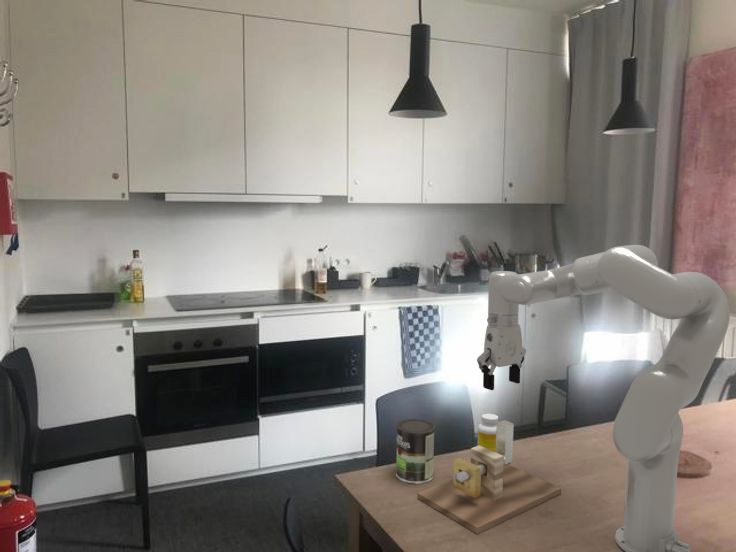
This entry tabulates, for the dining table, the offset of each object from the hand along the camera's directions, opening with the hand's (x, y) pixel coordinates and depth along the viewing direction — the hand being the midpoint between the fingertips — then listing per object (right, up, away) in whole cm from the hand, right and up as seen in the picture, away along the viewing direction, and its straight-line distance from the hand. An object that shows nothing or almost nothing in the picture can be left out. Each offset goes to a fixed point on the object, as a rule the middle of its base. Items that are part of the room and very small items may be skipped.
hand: (501, 385), depth 151 cm
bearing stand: (-4, -27, -3) cm, 28 cm away
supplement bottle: (+1, -25, +19) cm, 31 cm away
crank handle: (-6, -21, -5) cm, 22 cm away
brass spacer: (-10, -24, -8) cm, 28 cm away
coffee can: (-22, -26, +9) cm, 35 cm away
